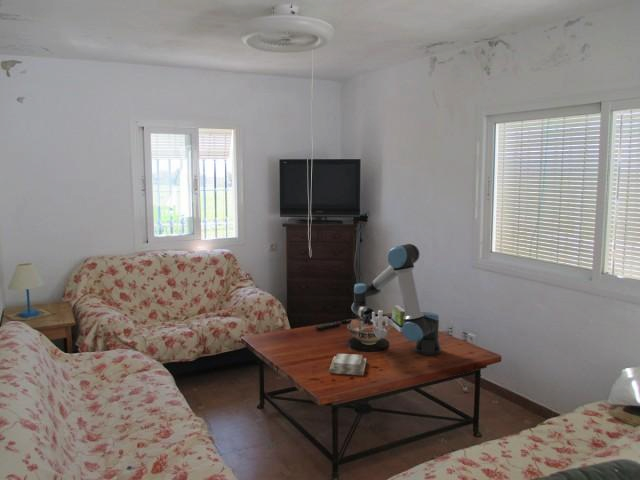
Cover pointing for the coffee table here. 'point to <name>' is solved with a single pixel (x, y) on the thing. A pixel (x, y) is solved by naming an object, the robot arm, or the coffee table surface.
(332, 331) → the coffee table surface
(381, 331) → the figurine
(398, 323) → the tea box
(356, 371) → the plinth
